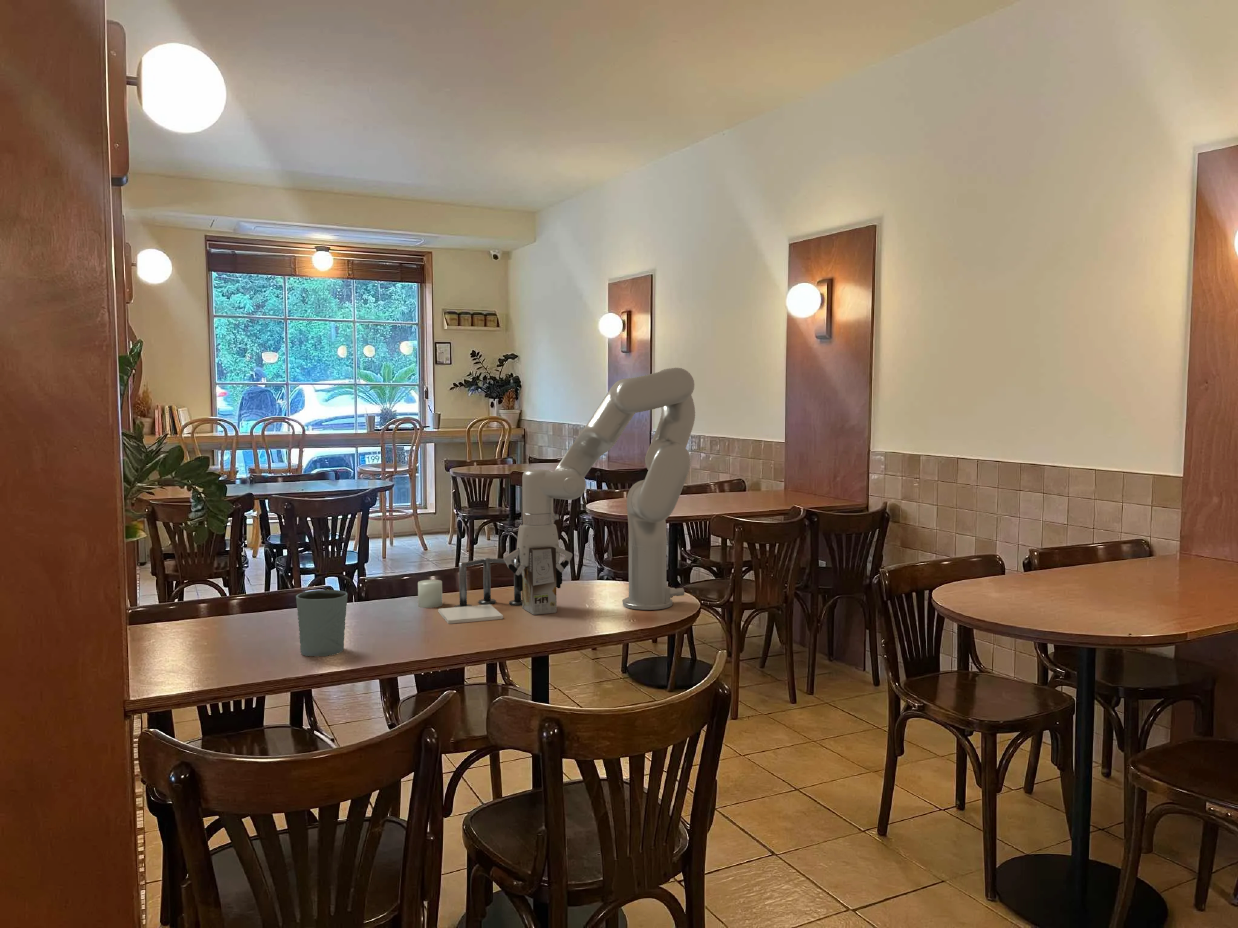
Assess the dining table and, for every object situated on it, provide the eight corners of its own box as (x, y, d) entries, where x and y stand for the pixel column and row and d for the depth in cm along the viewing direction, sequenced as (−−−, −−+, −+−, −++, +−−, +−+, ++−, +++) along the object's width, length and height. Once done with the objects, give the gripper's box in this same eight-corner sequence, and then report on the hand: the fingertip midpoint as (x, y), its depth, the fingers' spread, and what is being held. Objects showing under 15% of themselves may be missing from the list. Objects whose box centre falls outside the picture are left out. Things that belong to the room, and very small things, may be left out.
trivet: (490, 607, 231) (490, 604, 231) (502, 618, 219) (502, 615, 219) (438, 611, 227) (438, 608, 227) (448, 623, 215) (448, 620, 214)
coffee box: (557, 612, 225) (557, 547, 224) (533, 615, 223) (532, 549, 222) (544, 605, 234) (544, 542, 233) (520, 607, 231) (519, 544, 230)
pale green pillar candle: (440, 601, 238) (439, 578, 238) (444, 606, 233) (443, 583, 232) (416, 603, 236) (416, 580, 236) (420, 608, 231) (419, 585, 230)
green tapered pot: (289, 651, 192) (287, 594, 191) (334, 642, 199) (332, 587, 198) (311, 660, 185) (310, 601, 184) (357, 650, 192) (356, 593, 191)
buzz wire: (519, 598, 242) (519, 554, 241) (528, 604, 234) (528, 559, 233) (449, 604, 235) (449, 559, 235) (456, 611, 228) (455, 564, 227)
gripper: (566, 516, 233) (567, 583, 234) (499, 519, 227) (500, 588, 228) (576, 519, 226) (576, 588, 227) (507, 523, 220) (508, 594, 221)
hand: (538, 588), depth 228 cm, fingers open, 9 cm apart
